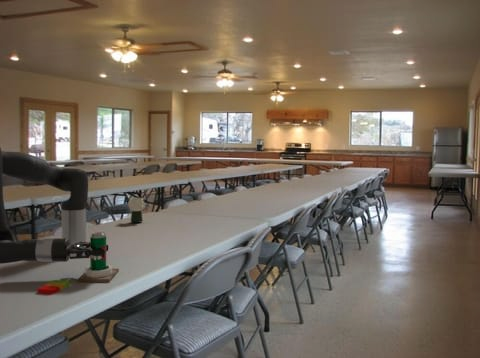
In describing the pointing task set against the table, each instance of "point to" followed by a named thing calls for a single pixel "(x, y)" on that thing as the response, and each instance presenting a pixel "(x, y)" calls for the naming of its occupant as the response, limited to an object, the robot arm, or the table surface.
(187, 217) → the table surface
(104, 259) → the soda can
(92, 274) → the socket plate
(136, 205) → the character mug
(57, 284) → the popsicle
